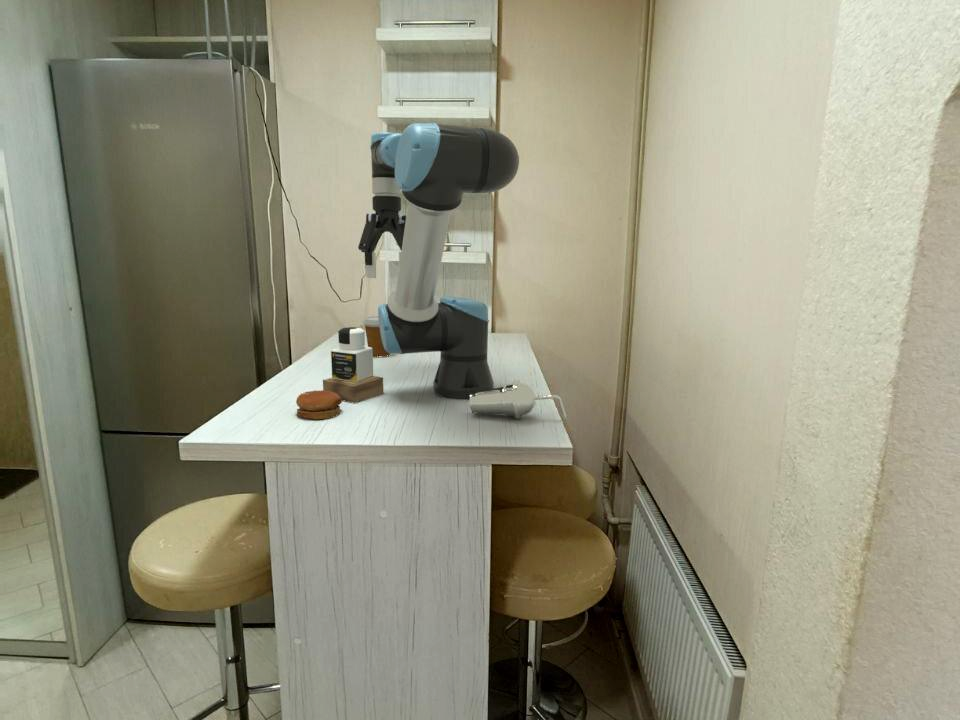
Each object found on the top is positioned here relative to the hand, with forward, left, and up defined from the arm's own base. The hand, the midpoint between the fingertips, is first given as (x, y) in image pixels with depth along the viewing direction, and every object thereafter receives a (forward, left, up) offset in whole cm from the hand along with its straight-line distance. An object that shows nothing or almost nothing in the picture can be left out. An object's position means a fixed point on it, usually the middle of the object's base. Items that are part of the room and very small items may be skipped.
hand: (388, 276), depth 152 cm
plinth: (-8, +23, -27) cm, 36 cm away
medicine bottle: (-8, +23, -23) cm, 33 cm away
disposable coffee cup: (+17, -15, -27) cm, 35 cm away
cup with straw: (-40, +20, -24) cm, 51 cm away
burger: (-12, +38, -27) cm, 48 cm away
